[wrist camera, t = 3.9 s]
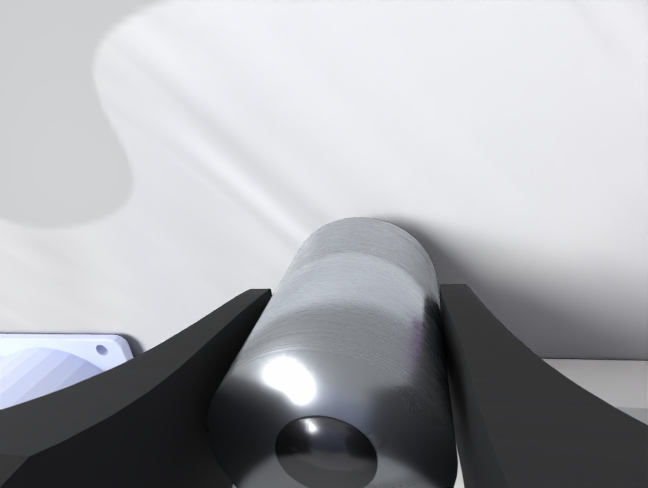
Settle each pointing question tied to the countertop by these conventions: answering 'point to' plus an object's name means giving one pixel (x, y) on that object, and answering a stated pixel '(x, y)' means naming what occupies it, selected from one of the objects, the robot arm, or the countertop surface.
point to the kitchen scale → (604, 386)
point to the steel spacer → (342, 372)
